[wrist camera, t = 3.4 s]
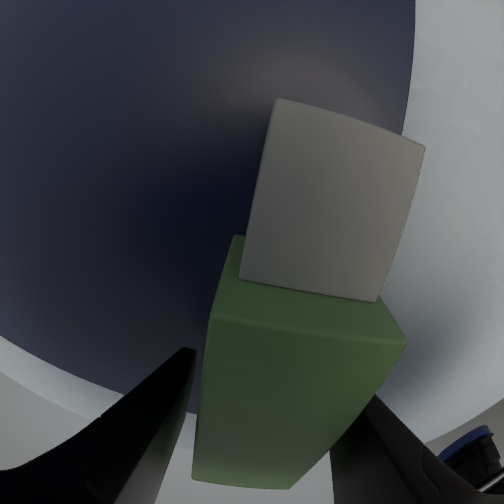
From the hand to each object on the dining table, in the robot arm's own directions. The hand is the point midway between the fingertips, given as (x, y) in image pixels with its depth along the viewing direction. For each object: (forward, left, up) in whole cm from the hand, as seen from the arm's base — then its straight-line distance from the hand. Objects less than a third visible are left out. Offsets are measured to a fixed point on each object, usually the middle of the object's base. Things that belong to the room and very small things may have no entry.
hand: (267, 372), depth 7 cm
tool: (+2, 0, -1) cm, 2 cm away
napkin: (+6, +9, -1) cm, 11 cm away
